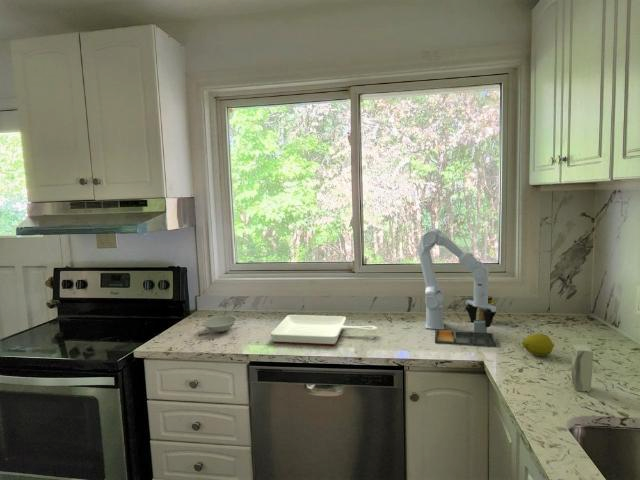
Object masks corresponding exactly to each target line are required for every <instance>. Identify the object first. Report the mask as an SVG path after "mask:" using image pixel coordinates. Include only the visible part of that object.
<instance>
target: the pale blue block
mask: <svg viewBox="0 0 640 480" xmlns="http://www.w3.org/2000/svg"><path fill="white" fill-rule="evenodd" d="M476 320H477V319H476ZM476 320H474V323H473V332H483V333H488V327H486V326H485V321H476Z"/></svg>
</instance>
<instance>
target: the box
mask: <svg viewBox="0 0 640 480" xmlns="http://www.w3.org/2000/svg"><path fill="white" fill-rule="evenodd" d="M590 347H591V346H589V345H584V344H572V358H571V374H570V375H571V376H570V384H571V386H572V388H573V390H574V391H578V392H585V391H587V392H586V393H588V392H589V393H591V392H592V379H593V378H592V376H593V362H594V360H593V359H594V350H592V348H590Z"/></svg>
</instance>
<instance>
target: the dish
mask: <svg viewBox="0 0 640 480" xmlns="http://www.w3.org/2000/svg"><path fill="white" fill-rule="evenodd" d="M237 321H238V317H237V316H234V315H227V314H226V315H220V316H219V315H218V316H215V317H211V318H209V319H208V318H207V319H206V320H204V321H203V322H202V325H203V327H205V328H206V329H207V330H209V331H211V332H214V333H215V332H216V333H222V332H225V331H227V330H229V329H230V328H232V327H233V326H234V324H235V323H236V322H237Z"/></svg>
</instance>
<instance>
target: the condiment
mask: <svg viewBox="0 0 640 480" xmlns="http://www.w3.org/2000/svg"><path fill="white" fill-rule="evenodd" d="M488 304H490V305H493V306H494V302H493V297H492V296H491V295H488ZM483 311H487V310H486V309H482V308H478V319H476V321H485V316H484V313H483ZM493 319H494V318H493ZM493 319H492V322H491V325H492V324H496V323H497V321H494V320H493Z"/></svg>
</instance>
